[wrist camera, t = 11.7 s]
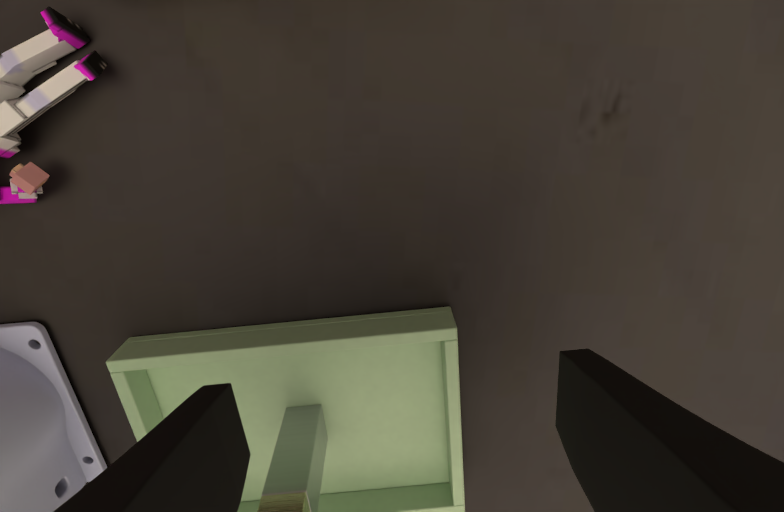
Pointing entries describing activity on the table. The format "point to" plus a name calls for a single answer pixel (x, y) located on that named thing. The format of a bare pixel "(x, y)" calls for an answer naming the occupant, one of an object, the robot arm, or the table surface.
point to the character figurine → (38, 93)
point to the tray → (324, 400)
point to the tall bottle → (296, 462)
